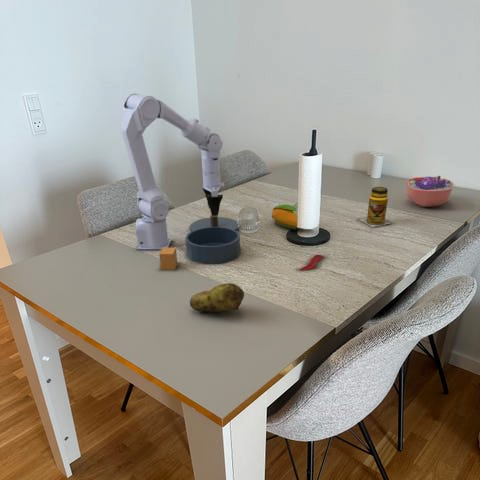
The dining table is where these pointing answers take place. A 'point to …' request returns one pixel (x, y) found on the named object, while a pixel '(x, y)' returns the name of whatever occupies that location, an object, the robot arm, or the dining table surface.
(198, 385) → the dining table surface
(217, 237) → the pot
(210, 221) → the pot lid
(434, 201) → the cell model
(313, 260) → the cayenne pepper
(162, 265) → the wooden brick
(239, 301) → the potato
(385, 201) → the condiment
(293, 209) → the corn
